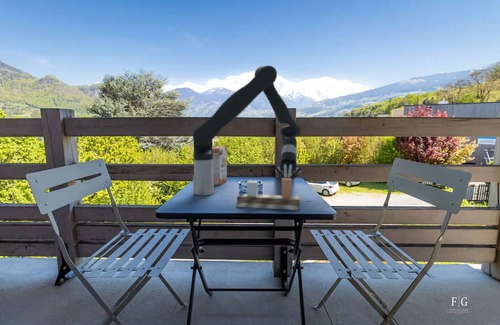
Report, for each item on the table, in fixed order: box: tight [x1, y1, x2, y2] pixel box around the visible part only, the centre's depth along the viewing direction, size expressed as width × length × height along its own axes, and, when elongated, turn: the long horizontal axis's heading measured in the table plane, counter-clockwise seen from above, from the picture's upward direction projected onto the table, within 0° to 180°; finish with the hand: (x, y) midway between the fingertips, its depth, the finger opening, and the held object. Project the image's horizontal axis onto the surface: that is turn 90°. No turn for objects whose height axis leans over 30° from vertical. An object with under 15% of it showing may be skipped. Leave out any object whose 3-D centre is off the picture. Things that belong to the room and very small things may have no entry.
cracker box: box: [212, 146, 228, 186], centre depth 158 cm, size 14×6×21 cm, turn 168°
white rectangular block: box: [246, 179, 259, 197], centre depth 117 cm, size 4×4×8 cm
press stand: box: [236, 193, 301, 211], centre depth 119 cm, size 26×15×4 cm, turn 78°
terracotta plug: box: [281, 177, 293, 198], centre depth 122 cm, size 4×4×8 cm
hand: (286, 185), depth 124 cm, fingers closed
